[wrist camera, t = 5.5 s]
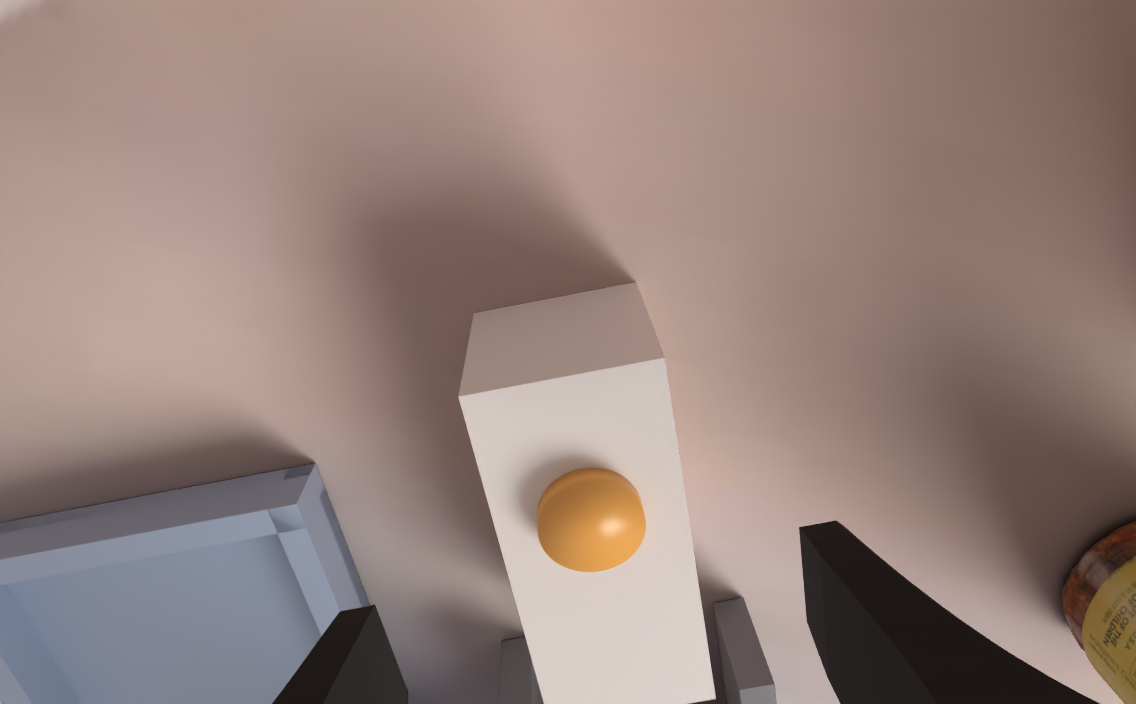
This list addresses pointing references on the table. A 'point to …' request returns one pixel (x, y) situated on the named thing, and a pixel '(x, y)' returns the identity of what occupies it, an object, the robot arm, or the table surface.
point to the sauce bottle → (1107, 609)
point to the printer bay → (738, 650)
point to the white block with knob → (589, 497)
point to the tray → (173, 594)
